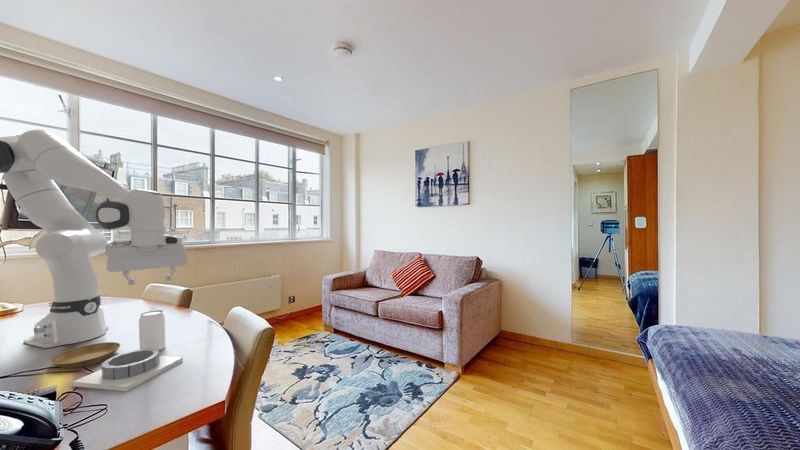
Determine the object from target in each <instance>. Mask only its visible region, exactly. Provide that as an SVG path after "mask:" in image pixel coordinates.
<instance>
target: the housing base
mask: <svg viewBox="0 0 800 450" xmlns="http://www.w3.org/2000/svg"><path fill="white" fill-rule="evenodd" d="M183 359H184V358H183V357H182V356H167V355H160V351H158V350H157V349H141V350H140V349H135V350H130V351H126V352H122V353H120V354H116V355H114V356H111V357H109V358H107V359H106V360H104V361H102V363H101V369H99V370H96V371H94V372H92V373H89V374H88V375H85V376H83V377H81V378H78V379H76V380H73V381H72V387H75V388H76V387H77V388H85V389H86V388H87V389H97V390H98V389H99V390H105V391H116V392H117V391H118V392H128V391H129V390H132V389H134V388H136V387H137V386H139V385H141V384H143V383H145V382H147V381H148V380H151V379H152V378H154V377H156V376H158V375H160V374H162V373H164V372H165V371H168V370H169V369H171V368H173V367H175V366H177V365H179V364H181V363H183V361H184V360H183Z"/></svg>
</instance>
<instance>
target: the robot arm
mask: <svg viewBox="0 0 800 450" xmlns="http://www.w3.org/2000/svg"><path fill="white" fill-rule="evenodd" d="M0 174H3V177H2V178H3V180H4V183H5V185H6V188H7V190H8V192H9V193H10V195H11V196H12V198H13V199H14V200H15V203H17V204H18V205H17V206H19V207H20V209H21V210H22V211H23V213H24V214H25V216H26V217H27V218H28V219H29V221H30V222H31V223H32V224H33V225H35V226H36V227H39V228H41V229H42V230H44V231H45V232H47V233H46V234H44V235H42V236H41V237H39V239H37V241H36V243H35V252H36V254H37V255H38V256H39V258H41V259H43V260H44V261H45V263H46V265H47V268H48V270H49V271H50V274H51V278H52V284H53V288H52V289H53V301H52V302H49V303H48V307H50V309H49V313H47V314H46V316H44V317H43V318H41V319H40V320H39V321H37V322H36V323H35V324H34V328H33V332H34V333H33V335H32V336H29V337H27V338H26V339H24V340H23V343H24V344H27V345H31V346H35V347H37V348H38V347H39V348H42V349H47V348H53V347H58V346H65V345H72V344H76V343H82V342H87V341H89V340H92V339H95V338H98V337H101V336H103V335H105V334H106V332H107V330H109V326H108V325H106V321H105V313H104V309H103V308H102V307H101V305H102V304H101V303H102V299H101V295H100V294H99V293H100V292H99V275H98V273H97V272H96V271H95V270H94V268H93V266H92V263H91V259H90V258H93V257H95V256H97V255H99V254H100V253H102V252H103V251H104V253H105V255H106V256H107V259H106V260H107V261H106V270H107V271H108V272H109V273H118V272H119V273H120V272H122V276H123V277H124V278H125V279H126V280H127V285H128V286H135V284H136V282H135V281H136V279H135V278H132V277H131V276H130V275H129V274H130V273H131V271H139V270H140V271H141V270H149V269H150V270H151V269H152V270H153V269H161V268H170V269H169V270H170V273H169V274H166V276H165V278H166V279H165V280H166V282H170V281H173V275H174V274H175V272H176V267H183V266H184V267H185V266H187V265H188V263H189V260H188V259H189V258H188V257H189V256H188V252H187V248H186V247H185V245H184V244H183V241H184V240H183V238H182V237H181V236H178V235H174V234H167V229H166V227H165V219H166V208H165V207H166V206H165V201H164V197H163V196H162V194H161V193H160V192H158V191H155V190H150V189H144V188H134V189H131V190H130V189H129V188H127V187H126V186H125V185H124V184H123V183H121V182H119V181H118V180H117V179H116V178H114V177H113V176H111V175H109V174H108V173H107V172H105V171H104V170H103V169H101V168H99V167H98V166H96V165H95V164H94V163H92V162H91V161H90V160H89V159H88V158H86V157H85V156H84V155H83V154H81V153H80V152H79V151H78V150H77V149H76V148H74V147H73V146H71V145H70V144H69V143H68V142H66V141H65V140H64V139H63V138H62V137H60V136H58V135H55V134H54V133H52V132H50V131H47V130H45V129H44V130H43V129H32V130H31V129H30V130H28V131H25V132H23V133H22V134H18V135H12V136H2V137H0ZM57 184H59V185H62V186H65V187H70V188H75V189H79V190H84V191H85V190H86V191H90V192H93V193H96V194H98V195H102V196H104V197H105V198H107V199H108V200H105V201H102V202H101V203H100V204H99V205H98V206H97V207H96V210H95V214H94V215H95V220H96V222H97V224H98V225H99V226H100V227H101V228H103V229H105V230H108V231H109V230H110V231H130V234H129V235H130V240H122V241H121V240H120V241H117V240H115V241H111V242H109V243H108V239H107V237H106V235H105V234H104V233H103V232H100V231H99V230H97V229H96V228H95V227H94V226H93V225H92V224H91V223H90V222H88V220H87V219H86V218H85V217H83V216H82V215H81V214H80V213H79V212H78V211H77V210H76V209H75V207H74V206H73V205H72V204H71V203H70V200H68V198H67V197H66V195H65V194H64V193H63V192H62V190H61V189H60V187H59V186H58V185H57Z"/></svg>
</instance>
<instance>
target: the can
mask: <svg viewBox="0 0 800 450" xmlns="http://www.w3.org/2000/svg"><path fill="white" fill-rule="evenodd" d="M138 329H139V331H138V333H139V335H138V336H139V338H138V339H139V350H141V349H157V350H158V351H159V352H160V351H161V350H163V349H164V348H165V347H166V319H165V314H164V311H163V310H162V309H161V310H158V309H157V310H149V311H145V312H142V313H141V314H140V317H139V319H138Z"/></svg>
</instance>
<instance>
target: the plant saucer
mask: <svg viewBox="0 0 800 450" xmlns="http://www.w3.org/2000/svg"><path fill="white" fill-rule="evenodd" d="M120 347H121V344H120V342H114V341H113V342H112V341H111V342H110V341H107V342H99V343H93V344H88V345H87V344H86V345H83V346H79V347H76V348H72V349H70V350H66V351H63V352H61V353H59V354H57V355H55V356H54V357H52V358H51V359H50V363H51V364H53V365H54V366H56V367H59V368H61V369H65V370H66V369H77V368H82V367H87V366H91V365H95V364H98V363H100V362H104V361H106V360H107V359H109V358H111V357H113V355H115V353H116V352H117V351H118V350H119V349H120Z"/></svg>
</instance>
